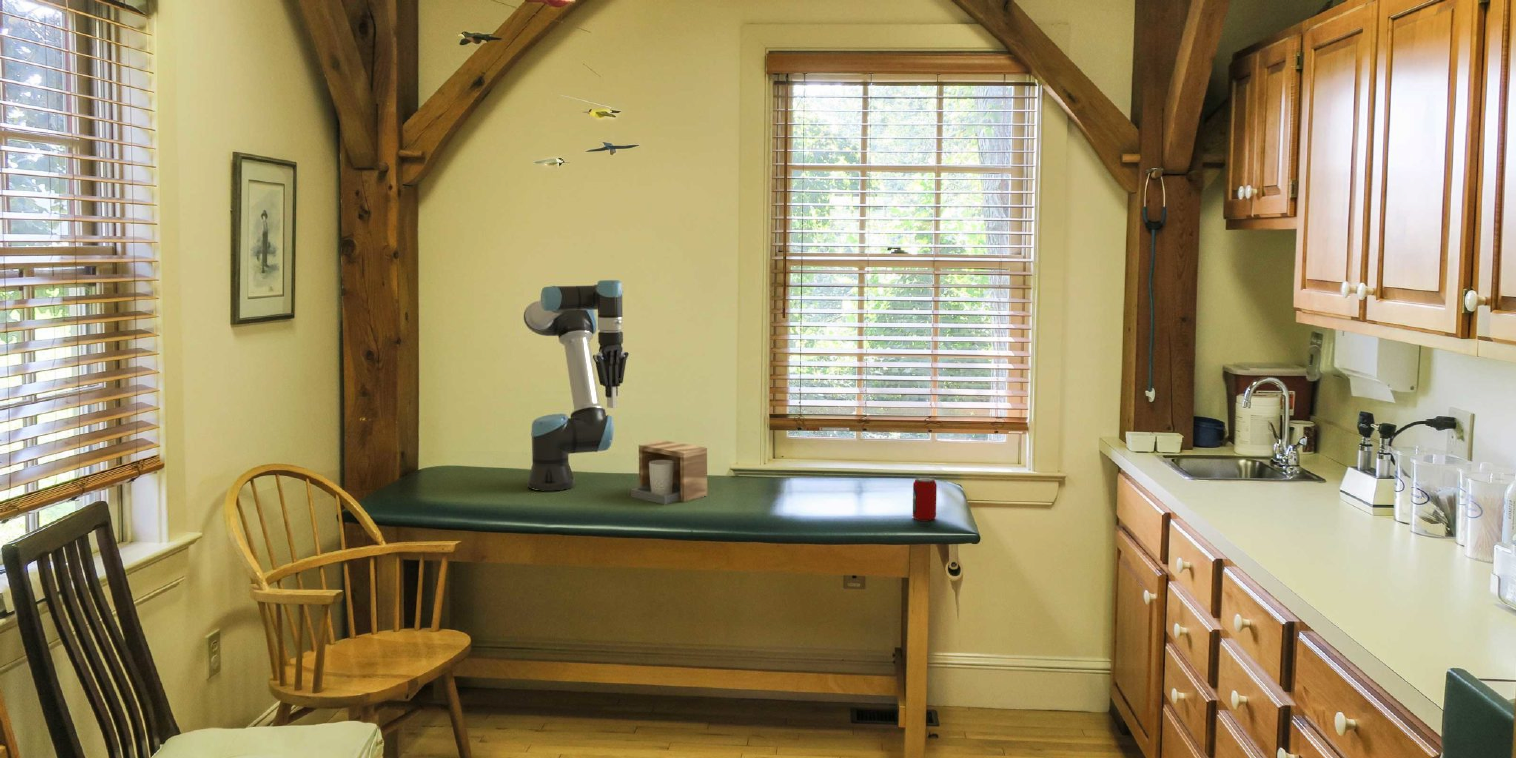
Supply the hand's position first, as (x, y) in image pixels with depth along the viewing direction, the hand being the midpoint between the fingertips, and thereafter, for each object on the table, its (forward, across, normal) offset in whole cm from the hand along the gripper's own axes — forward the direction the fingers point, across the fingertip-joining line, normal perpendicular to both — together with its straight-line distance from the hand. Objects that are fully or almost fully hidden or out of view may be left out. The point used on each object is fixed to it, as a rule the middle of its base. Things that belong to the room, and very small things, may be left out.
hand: (611, 407), depth 355 cm
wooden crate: (+29, +18, -8) cm, 35 cm away
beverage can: (+30, +44, -86) cm, 101 cm away
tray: (+29, +14, -8) cm, 34 cm away
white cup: (+29, +14, -7) cm, 33 cm away
